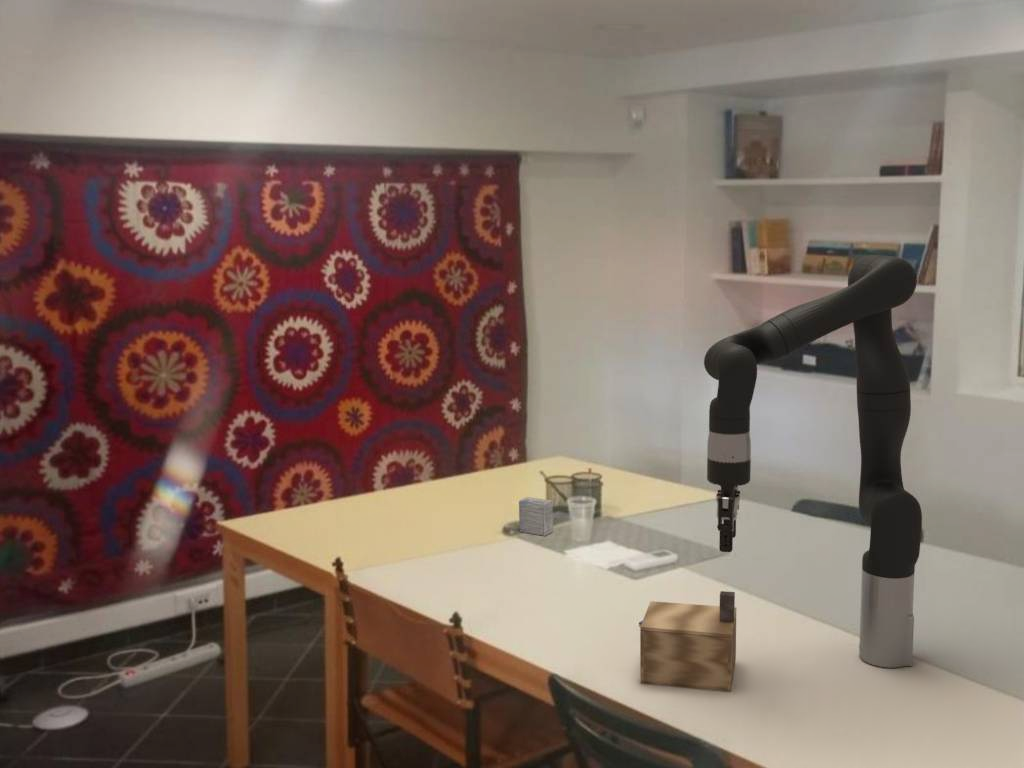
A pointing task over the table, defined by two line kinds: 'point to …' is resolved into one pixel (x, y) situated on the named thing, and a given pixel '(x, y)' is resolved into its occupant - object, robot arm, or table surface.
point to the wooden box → (687, 660)
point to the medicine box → (536, 516)
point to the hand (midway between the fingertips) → (727, 544)
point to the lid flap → (692, 617)
